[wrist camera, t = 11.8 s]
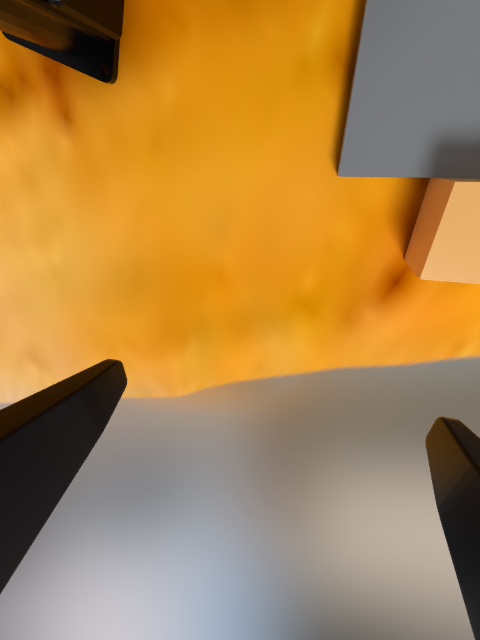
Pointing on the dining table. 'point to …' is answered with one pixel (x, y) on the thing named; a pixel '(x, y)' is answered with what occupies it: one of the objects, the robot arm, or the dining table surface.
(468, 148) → the lid
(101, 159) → the dining table surface
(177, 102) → the dining table surface
